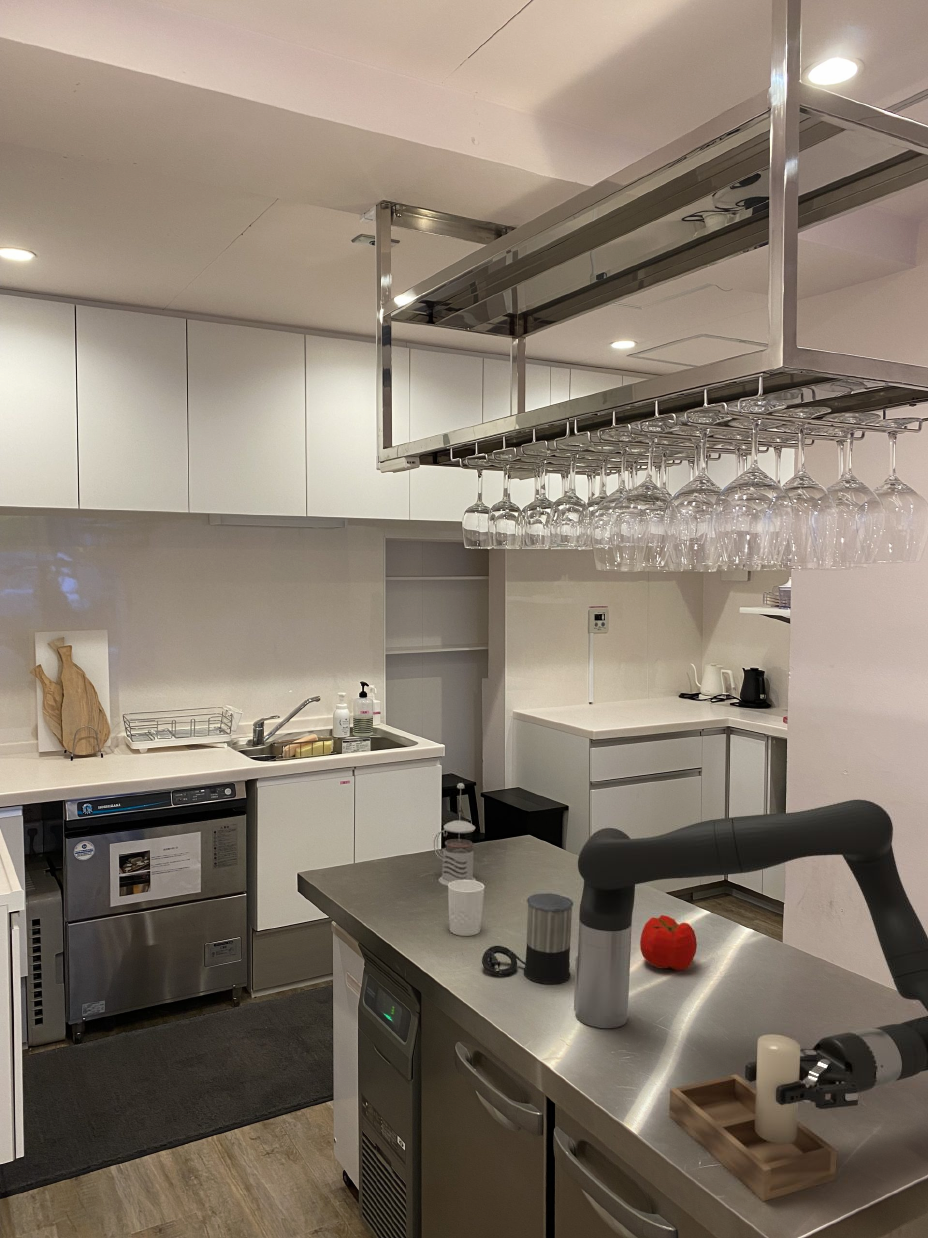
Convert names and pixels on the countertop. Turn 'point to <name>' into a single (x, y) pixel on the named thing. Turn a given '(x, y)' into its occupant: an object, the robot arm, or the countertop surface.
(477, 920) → the white cup
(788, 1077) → the cream pillar candle
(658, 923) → the tomato
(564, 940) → the milk frother
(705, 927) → the countertop surface
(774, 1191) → the wooden divided tray
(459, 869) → the french press
